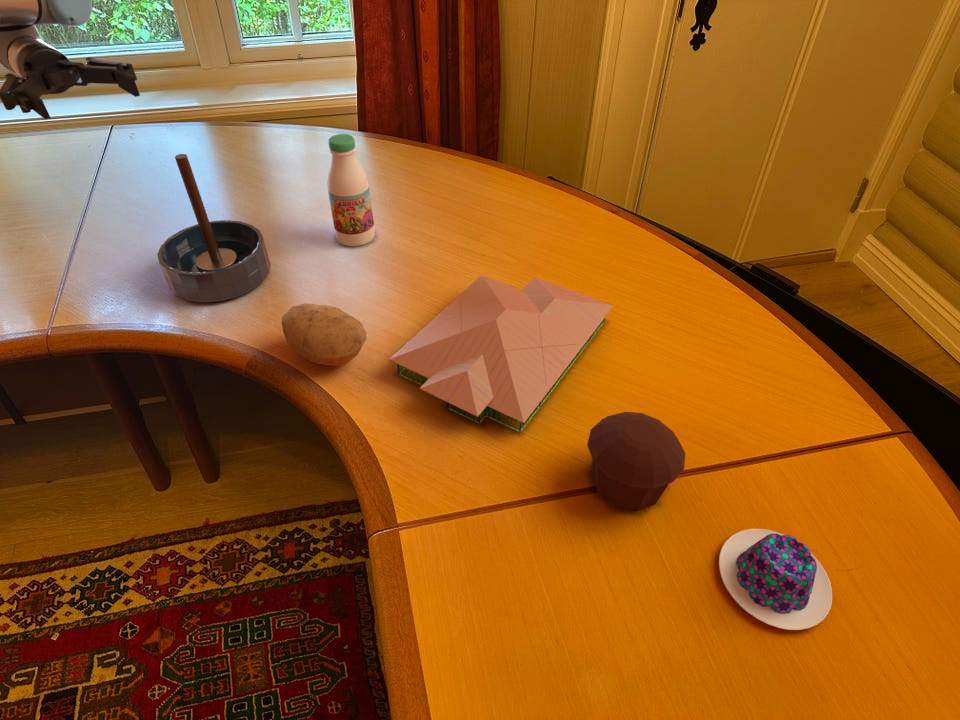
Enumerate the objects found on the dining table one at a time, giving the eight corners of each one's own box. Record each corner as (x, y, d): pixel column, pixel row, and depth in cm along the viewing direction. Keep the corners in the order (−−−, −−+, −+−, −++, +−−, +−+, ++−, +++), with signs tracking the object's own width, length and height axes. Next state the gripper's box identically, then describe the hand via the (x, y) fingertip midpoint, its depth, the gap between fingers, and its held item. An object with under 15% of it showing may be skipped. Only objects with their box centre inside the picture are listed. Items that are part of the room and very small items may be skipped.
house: (379, 386, 90) (373, 345, 84) (494, 277, 110) (495, 239, 105) (512, 452, 81) (515, 411, 76) (610, 321, 102) (618, 281, 96)
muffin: (684, 470, 79) (704, 419, 72) (657, 535, 72) (676, 486, 65) (600, 434, 84) (611, 383, 77) (566, 492, 77) (575, 441, 70)
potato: (312, 323, 101) (302, 284, 95) (382, 349, 96) (377, 310, 90) (271, 358, 94) (259, 318, 89) (345, 388, 90) (337, 348, 84)
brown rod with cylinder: (193, 282, 107) (147, 164, 92) (211, 260, 112) (171, 145, 97) (230, 285, 107) (190, 167, 92) (247, 263, 112) (212, 148, 97)
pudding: (697, 578, 68) (709, 554, 65) (748, 514, 74) (762, 489, 71) (800, 657, 62) (820, 636, 59) (847, 580, 68) (868, 556, 65)
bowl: (151, 300, 105) (137, 269, 100) (200, 246, 117) (189, 216, 113) (246, 310, 103) (236, 279, 98) (285, 254, 115) (278, 224, 111)
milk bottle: (331, 231, 122) (314, 133, 108) (368, 223, 124) (356, 126, 110) (342, 251, 117) (324, 150, 103) (380, 242, 119) (368, 143, 105)
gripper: (123, 72, 114) (176, 102, 103) (-28, 107, 100) (14, 145, 90) (107, 28, 109) (160, 54, 98) (-55, 59, 95) (-13, 93, 85)
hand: (91, 98), depth 94 cm, fingers open, 13 cm apart
